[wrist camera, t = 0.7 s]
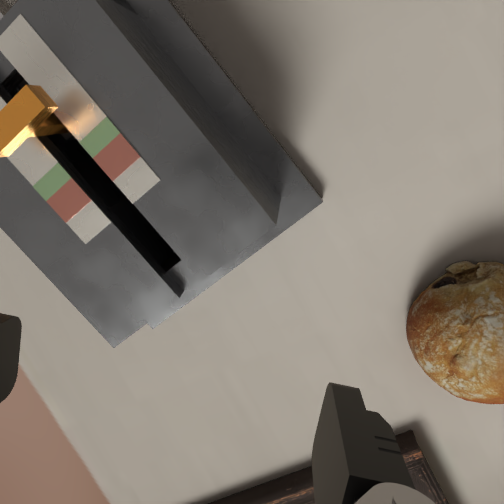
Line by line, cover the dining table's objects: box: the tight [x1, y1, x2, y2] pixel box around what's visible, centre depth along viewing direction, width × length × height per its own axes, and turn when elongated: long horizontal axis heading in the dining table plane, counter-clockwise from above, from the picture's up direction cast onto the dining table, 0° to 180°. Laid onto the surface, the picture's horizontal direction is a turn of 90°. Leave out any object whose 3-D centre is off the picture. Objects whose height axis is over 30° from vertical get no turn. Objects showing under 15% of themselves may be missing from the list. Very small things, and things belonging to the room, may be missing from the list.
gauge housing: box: [0, 0, 323, 348], centre depth 28 cm, size 20×16×9 cm
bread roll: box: [406, 261, 504, 404], centre depth 32 cm, size 10×10×8 cm
